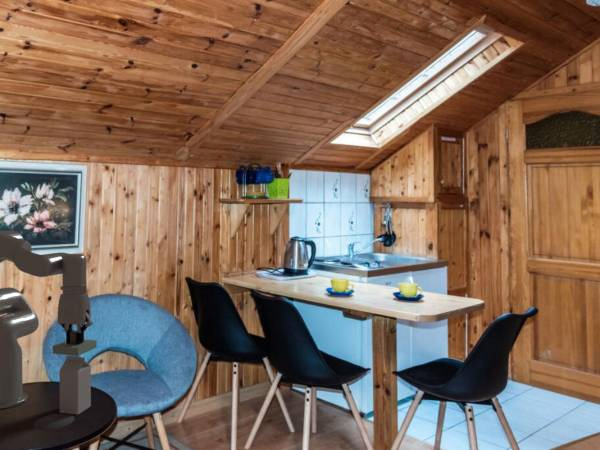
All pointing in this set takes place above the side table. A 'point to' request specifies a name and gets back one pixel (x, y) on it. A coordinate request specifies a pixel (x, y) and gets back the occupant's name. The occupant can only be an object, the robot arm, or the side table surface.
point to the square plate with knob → (74, 346)
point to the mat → (54, 421)
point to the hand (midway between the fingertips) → (75, 342)
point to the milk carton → (75, 385)
